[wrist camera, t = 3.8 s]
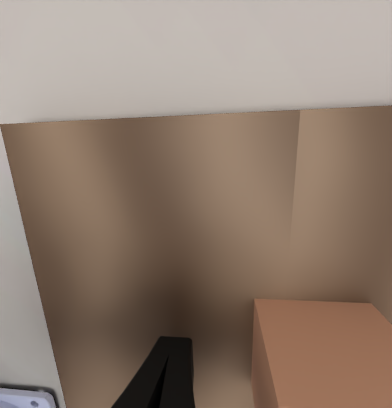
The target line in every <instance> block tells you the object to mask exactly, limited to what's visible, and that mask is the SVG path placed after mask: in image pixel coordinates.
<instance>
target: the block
mask: <svg viewBox="0 0 392 408" xmlns="http://www.w3.org/2000/svg"><path fill="white" fill-rule="evenodd" d="M251 385H252V393H253V400H254V408H392V324H391V323H390V322H389V321H388V320H387V319H386V318H385V317H384V316H383V315H382V314H381V313H380V312H379V311H378V310H377V309H376V308H375V307H374V306H373V305H372V304H371V303H352V302H327V301H302V300H277V299H254V320H253V346H252V372H251Z"/></svg>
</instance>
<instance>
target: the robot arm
mask: <svg viewBox="0 0 392 408" xmlns="http://www.w3.org/2000/svg"><path fill="white" fill-rule="evenodd" d="M193 382H194V366H193V344H192V339H190V338H187V337H170V336H160V337H159V338H158V339H157V341H156V343H155V345H154V346H153V348H152V350H151V351H150V353H149V354H148V356H147V357H146V359H145V361H144V362H143V364H142V365H141V367H140V368H139V370H138V371H137V372H136V374H135V375H134V377H133V378H132V380H131V381H130V383H129V384H128V385H127V387H126V388H125V390H124V391H123V392H122V394H121V395H120V396H119V398H118V399H117V400H116V402H115V403H114V404H113V405H112V407H111V408H195V401H194V393H193ZM0 408H56V406H55V402H54V398H53V396H52V395H51V394H49V393H47V392H38V391H27V390H17V389H6V388H0Z"/></svg>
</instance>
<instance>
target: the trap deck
mask: <svg viewBox="0 0 392 408" xmlns="http://www.w3.org/2000/svg"><path fill="white" fill-rule="evenodd" d="M0 127H1V131H2V136H3V140H4V144H5V148H6V153H7V157H8V161H9V166H10V170H11V174H12V178H13V183H14V187H15V191H16V195H17V200H18V204H19V208H20V212H21V217H22V221H23V225H24V229H25V234H26V238H27V242H28V247H29V251H30V255H31V259H32V264H33V268H34V272H35V276H36V281H37V285H38V289H39V293H40V298H41V302H42V306H43V310H44V315H45V319H46V323H47V327H48V332H49V336H50V340H51V345H52V349H53V353H54V357H55V362H56V366H57V370H58V374H59V379H60V383H61V387H62V391H63V396H64V400H65V404H66V408H111V407H112V405H113V404H114V403H115V402H116V400H117V399H118V398H119V396H120V395H121V394H122V392H123V391H124V390H125V388H126V387H127V385H128V384H129V383H130V381H131V380H132V378H133V377H134V375H135V374H136V372H137V371H138V370H139V368H140V367H141V365H142V364H143V362H144V361H145V359H146V357H147V356H148V354H149V353H150V351H151V350H152V348H153V346H154V345H155V343H156V341H157V339H158V338H159V337H160V336H170V337H187V338H190V339H192V344H193V366H194V382H193V393H194V401H195V408H254V400H253V393H252V385H251V372H252V346H253V320H254V299H277V300H302V301H327V302H352V303H371V304H372V305H373V306H374V307H375V308H376V309H377V310H378V311H379V312H380V313H381V314H382V315H383V316H384V317H385V318H386V319H387V320H388V321H389V322H390V323H391V324H392V106H372V107H351V108H330V109H309V110H288V111H267V112H247V113H226V114H205V115H184V116H163V117H142V118H121V119H101V120H80V121H59V122H38V123H17V124H0Z"/></svg>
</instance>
